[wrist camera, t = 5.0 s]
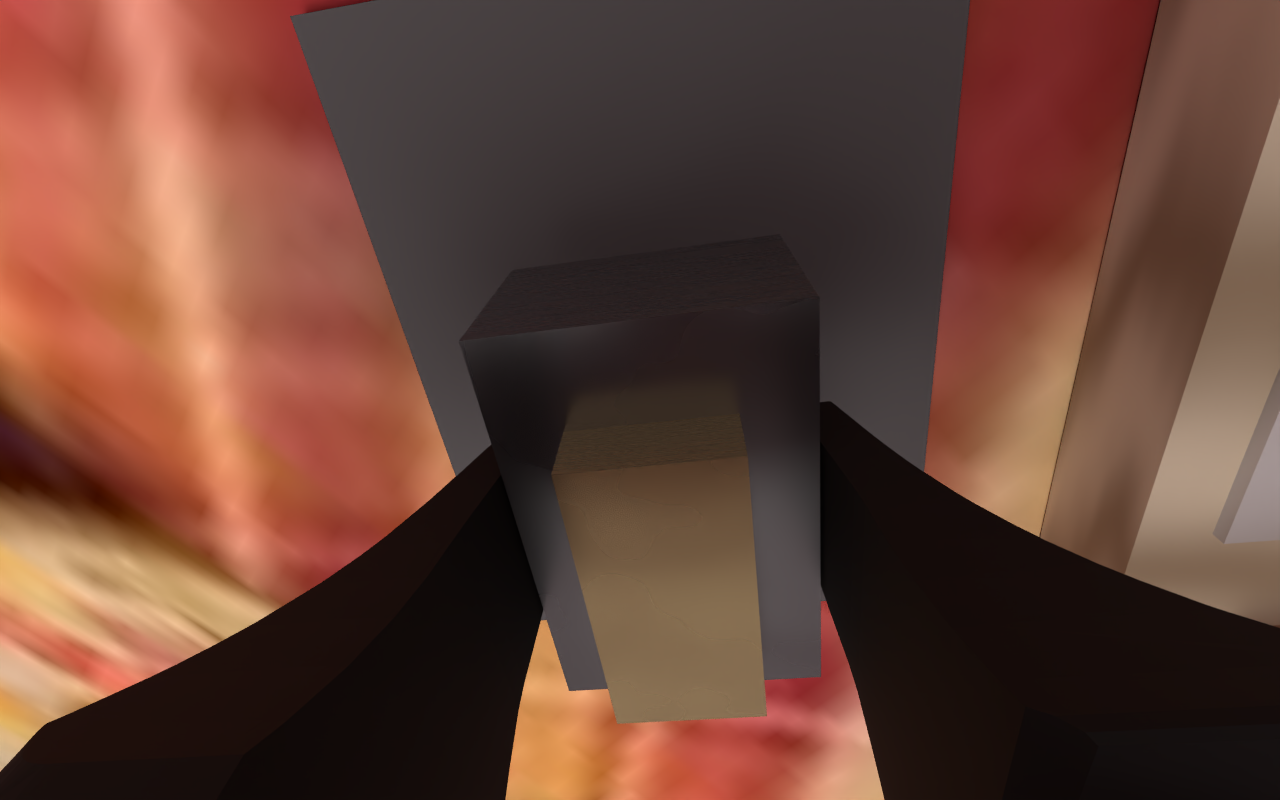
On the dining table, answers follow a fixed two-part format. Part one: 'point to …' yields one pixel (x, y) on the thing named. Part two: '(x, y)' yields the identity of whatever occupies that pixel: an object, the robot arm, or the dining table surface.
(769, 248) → the lever cap
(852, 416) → the rubber mat
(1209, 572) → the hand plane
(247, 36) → the dining table surface
